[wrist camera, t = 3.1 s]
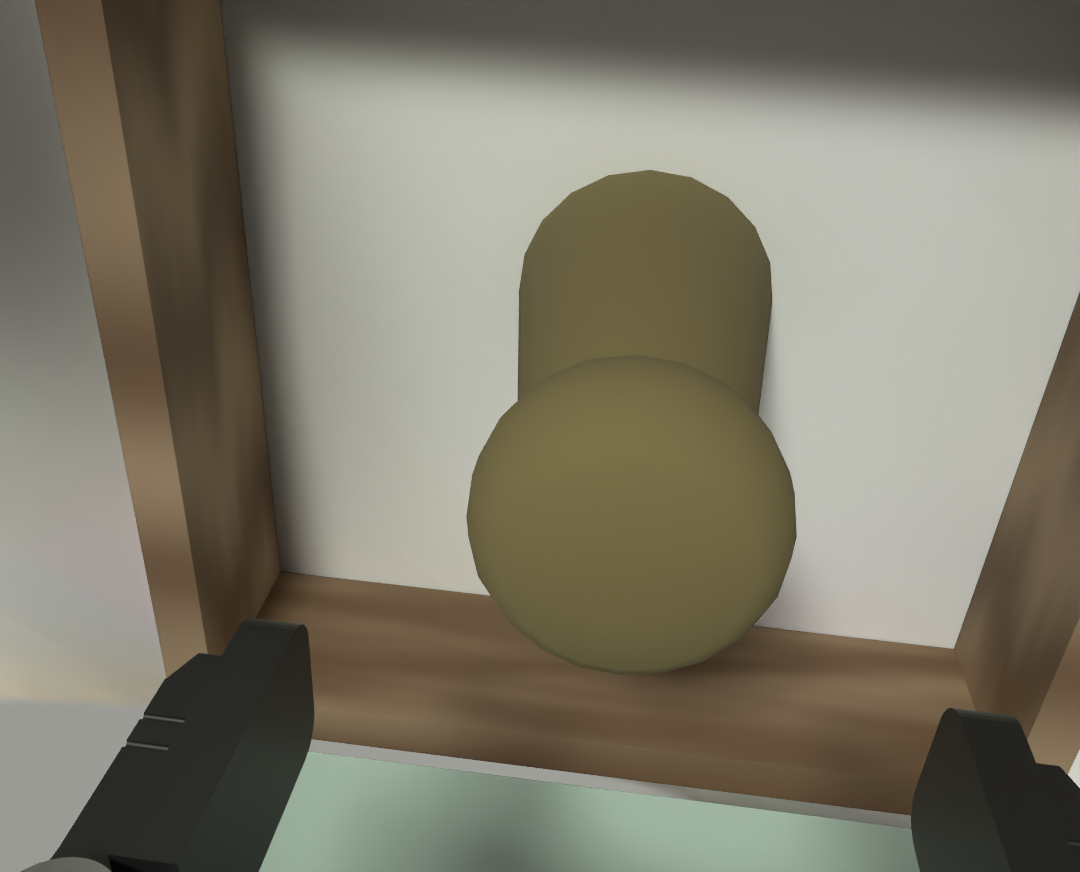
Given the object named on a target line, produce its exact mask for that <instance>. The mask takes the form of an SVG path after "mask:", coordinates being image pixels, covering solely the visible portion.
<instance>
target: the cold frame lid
mask: <svg viewBox="0 0 1080 872" xmlns="http://www.w3.org/2000/svg"><path fill="white" fill-rule="evenodd" d="M259 872H920V870H919V866H918V861H917V857H916V853H915V849H914V844H913V839H912V829H911V828H903V827H895V826H887V825H879V824H872V823H864V822H856V821H848V820H840V819H833V818H825V817H817V816H809V815H802V814H794V813H786V812H778V811H770V810H763V809H755V808H747V807H739V806H731V805H724V804H716V803H708V802H700V801H692V800H685V799H677V798H669V797H661V796H653V795H646V794H638V793H630V792H622V791H614V790H607V789H599V788H591V787H583V786H576V785H567V784H559V783H552V782H544V781H536V780H528V779H521V778H513V777H505V776H498V775H490V774H482V773H473V772H466V771H458V770H451V769H443V768H435V767H427V766H420V765H412V764H403V763H396V762H388V761H381V760H373V759H364V758H357V757H349V756H342V755H334V754H326V753H318V752H310V751H308V754H307V757H306V759H305V762H304V764H303V767H302V769H301V772H300V774H299V776H298V779H297V781H296V784H295V786H294V788H293V791H292V793H291V796H290V798H289V801H288V803H287V805H286V808H285V810H284V813H283V815H282V817H281V820H280V822H279V825H278V827H277V829H276V832H275V834H274V837H273V839H272V841H271V844H270V846H269V849H268V851H267V853H266V856H265V858H264V861H263V863H262V865H261V868H260V870H259Z"/></svg>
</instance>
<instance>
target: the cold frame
mask: <svg viewBox="0 0 1080 872" xmlns="http://www.w3.org/2000/svg"><path fill="white" fill-rule="evenodd" d="M35 3H36V9H37V14H38V19H39V24H40V29H41V34H42V39H43V45H44V50H45V55H46V60H47V65H48V70H49V75H50V81H51V86H52V91H53V96H54V101H55V106H56V111H57V117H58V122H59V127H60V132H61V137H62V142H63V147H64V152H65V158H66V163H67V168H68V173H69V178H70V183H71V188H72V194H73V199H74V204H75V209H76V214H77V219H78V224H79V230H80V235H81V240H82V245H83V250H84V255H85V260H86V266H87V271H88V276H89V281H90V286H91V291H92V296H93V302H94V307H95V312H96V317H97V322H98V327H99V332H100V337H101V343H102V348H103V353H104V358H105V363H106V368H107V373H108V379H109V384H110V389H111V394H112V399H113V404H114V409H115V415H116V420H117V425H118V430H119V435H120V440H121V445H122V451H123V456H124V461H125V466H126V471H127V476H128V481H129V487H130V492H131V497H132V502H133V507H134V512H135V517H136V522H137V528H138V533H139V538H140V543H141V548H142V553H143V558H144V564H145V569H146V574H147V579H148V584H149V589H150V594H151V600H152V605H153V610H154V615H155V620H156V625H157V630H158V636H159V641H160V646H161V651H162V656H163V661H164V666H165V672H166V677H169V676H170V675H171V674H173V673H174V672H175V671H176V670H178V669H179V668H180V667H181V666H183V665H184V664H185V663H186V662H188V661H189V660H190V659H192V658H193V657H194V656H195V655H197V654H198V653H204V654H211V655H219V656H222V655H223V653H224V651H225V649H226V648H227V646H228V644H229V643H230V641H231V639H232V637H233V636H234V634H235V632H236V630H237V629H238V627H239V625H240V624H241V623H242V621H243V620H245V619H246V618H256V619H264V620H272V621H280V622H288V623H296V624H303V625H305V626H306V628H307V631H308V636H309V647H310V660H311V672H312V684H313V697H314V726H313V733H312V738H311V739H315V740H323V741H332V742H339V743H347V744H355V745H362V746H370V747H379V748H386V749H394V750H402V751H410V752H418V753H425V754H433V755H441V756H449V757H457V758H465V759H473V760H480V761H488V762H496V763H504V764H512V765H520V766H527V767H535V768H543V769H551V770H559V771H567V772H574V773H582V774H590V775H598V776H606V777H614V778H622V779H629V780H637V781H645V782H653V783H661V784H669V785H677V786H684V787H692V788H700V789H708V790H716V791H724V792H731V793H739V794H747V795H755V796H763V797H771V798H779V799H786V800H794V801H802V802H810V803H818V804H826V805H834V806H841V807H849V808H857V809H865V810H873V811H881V812H889V813H896V814H904V815H911V811H912V802H913V796H914V792H915V789H916V786H917V783H918V780H919V777H920V775H921V772H922V769H923V766H924V764H925V761H926V758H927V755H928V752H929V750H930V747H931V744H932V741H933V738H934V736H935V733H936V730H937V727H938V725H939V722H940V719H941V717H942V715H943V713H944V712H945V711H946V709H948V708H956V709H964V710H972V711H980V712H988V713H996V714H1004V715H1012V716H1014V717H1015V718H1016V719H1017V720H1018V721H1019V723H1020V724H1021V726H1022V729H1023V731H1024V733H1025V736H1026V738H1027V741H1028V744H1029V746H1030V749H1031V751H1032V754H1033V756H1034V759H1035V761H1036V763H1040V764H1048V765H1055V766H1060V767H1061V768H1062V769H1063V770H1064V771H1065V773H1066V774H1067V775H1068V772H1069V770H1070V768H1071V766H1072V764H1073V762H1074V760H1075V758H1076V755H1077V753H1078V751H1079V749H1080V294H1079V297H1078V300H1077V303H1076V305H1075V308H1074V311H1073V314H1072V317H1071V320H1070V322H1069V325H1068V328H1067V331H1066V334H1065V337H1064V340H1063V342H1062V345H1061V348H1060V351H1059V354H1058V357H1057V359H1056V362H1055V365H1054V368H1053V371H1052V374H1051V376H1050V379H1049V382H1048V385H1047V388H1046V391H1045V393H1044V396H1043V399H1042V402H1041V405H1040V408H1039V410H1038V413H1037V416H1036V419H1035V422H1034V425H1033V427H1032V430H1031V433H1030V436H1029V439H1028V442H1027V444H1026V447H1025V450H1024V453H1023V456H1022V459H1021V461H1020V464H1019V467H1018V470H1017V473H1016V476H1015V478H1014V481H1013V484H1012V487H1011V490H1010V493H1009V495H1008V498H1007V501H1006V504H1005V507H1004V510H1003V512H1002V515H1001V518H1000V521H999V524H998V527H997V529H996V532H995V535H994V538H993V541H992V544H991V547H990V549H989V552H988V555H987V558H986V561H985V564H984V566H983V569H982V572H981V575H980V578H979V581H978V583H977V586H976V589H975V592H974V595H973V598H972V600H971V603H970V606H969V609H968V612H967V615H966V617H965V620H964V623H963V626H962V629H961V632H960V634H959V637H958V640H957V643H956V646H955V649H947V648H939V647H930V646H921V645H913V644H904V643H895V642H886V641H878V640H869V639H860V638H852V637H843V636H834V635H826V634H817V633H808V632H799V631H791V630H782V629H773V628H765V627H756V626H752V627H751V628H750V629H749V630H748V631H747V632H746V633H745V634H744V635H743V636H742V637H741V638H740V639H739V640H738V641H736V642H735V643H733V644H731V645H730V646H728V647H727V648H725V649H723V650H722V651H720V652H718V653H717V654H715V655H714V656H712V657H710V658H709V659H707V660H706V661H704V662H700V663H697V664H693V665H690V666H686V667H683V668H680V669H676V670H673V671H669V672H666V673H653V674H628V675H620V674H615V673H609V672H604V671H599V670H594V669H589V668H584V667H579V666H577V665H575V664H572V663H570V662H568V661H566V660H564V659H562V658H559V657H557V656H555V655H553V654H551V653H548V652H546V651H544V650H542V649H540V648H539V647H538V646H537V645H536V644H534V643H533V642H532V641H531V640H530V639H528V638H527V637H526V636H525V635H523V634H522V633H521V632H520V631H519V630H517V629H516V628H515V627H514V626H513V625H511V624H510V622H509V621H508V620H507V618H506V617H505V616H504V614H503V613H502V612H501V610H500V609H499V607H498V606H497V604H496V603H495V601H494V600H493V598H492V597H491V596H486V595H478V594H469V593H460V592H451V591H443V590H434V589H425V588H417V587H408V586H399V585H391V584H382V583H373V582H364V581H356V580H347V579H338V578H330V577H321V576H312V575H304V574H295V573H286V572H281V570H280V561H279V551H278V542H277V533H276V523H275V514H274V504H273V495H272V486H271V476H270V467H269V457H268V448H267V439H266V429H265V420H264V411H263V401H262V392H261V382H260V373H259V364H258V354H257V345H256V335H255V326H254V317H253V307H252V298H251V288H250V279H249V270H248V260H247V251H246V241H245V232H244V223H243V213H242V204H241V194H240V185H239V176H238V166H237V157H236V147H235V138H234V129H233V119H232V110H231V101H230V91H229V82H228V72H227V63H226V54H225V44H224V35H223V25H222V16H221V7H220V0H35Z"/></svg>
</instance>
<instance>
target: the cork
mask: <svg viewBox="0 0 1080 872" xmlns="http://www.w3.org/2000/svg"><path fill="white" fill-rule="evenodd" d="M771 306H772V289H771V270H770V261H769V259H768V257H767V254H766V252H765V249H764V247H763V245H762V242H761V240H760V238H759V235H758V233H757V230H756V228H755V226H754V225H753V224H752V223H751V222H750V221H749V220H748V219H747V218H746V217H745V216H744V214H743V213H742V212H741V211H740V210H739V209H738V208H737V207H736V206H735V205H734V203H733V202H732V201H731V200H730V199H729V198H728V197H726V196H724V195H723V194H721V193H719V192H717V191H715V190H713V189H712V188H710V187H708V186H706V185H704V184H702V183H701V182H699V181H697V180H695V179H693V178H691V177H685V176H680V175H675V174H669V173H664V172H658V171H653V170H647V171H639V172H631V173H624V174H616V175H609V176H606V177H604V178H602V179H600V180H598V181H596V182H594V183H592V184H590V185H587V186H585V187H583V188H581V189H579V190H577V191H575V192H573V193H571V194H570V195H569V196H568V197H567V198H566V199H565V200H564V201H562V202H561V203H560V204H559V205H558V206H557V207H556V208H555V209H554V210H553V211H552V212H551V213H550V214H549V215H548V216H547V217H546V218H545V219H544V220H543V221H542V222H541V224H540V226H539V228H538V230H537V232H536V234H535V236H534V238H533V239H532V241H531V243H530V245H529V247H528V249H527V251H526V253H525V256H524V262H523V269H522V276H521V282H520V289H519V346H518V401H517V402H516V403H515V404H514V405H513V406H512V407H511V408H510V409H509V410H508V411H507V412H506V413H505V414H504V415H503V416H502V417H501V418H500V420H499V421H498V423H497V425H496V427H495V428H494V430H493V432H492V434H491V435H490V437H489V439H488V441H487V443H486V444H485V446H484V448H483V450H482V451H481V453H480V455H479V457H478V460H477V463H476V466H475V469H474V472H473V474H472V481H471V488H470V495H469V503H468V510H467V526H468V536H469V541H470V545H471V549H472V553H473V557H474V561H475V565H476V569H477V574H478V577H479V578H480V580H481V581H482V583H483V584H484V586H485V588H486V589H487V591H488V592H489V594H490V595H491V597H492V598H493V600H494V601H495V603H496V604H497V606H498V607H499V609H500V610H501V612H502V613H503V614H504V616H505V617H506V618H507V620H508V621H509V622H510V624H511V625H513V626H514V627H515V628H516V629H517V630H519V631H520V632H521V633H522V634H523V635H525V636H526V637H527V638H528V639H530V640H531V641H532V642H533V643H534V644H536V645H537V646H538V647H539V648H540V649H542V650H544V651H546V652H548V653H551V654H553V655H555V656H557V657H559V658H562V659H564V660H566V661H568V662H570V663H572V664H575V665H577V666H579V667H584V668H589V669H594V670H599V671H604V672H609V673H615V674H620V675H628V674H653V673H666V672H669V671H673V670H676V669H680V668H683V667H686V666H690V665H693V664H697V663H700V662H704V661H706V660H707V659H709V658H710V657H712V656H714V655H715V654H717V653H718V652H720V651H722V650H723V649H725V648H727V647H728V646H730V645H731V644H733V643H735V642H736V641H738V640H739V639H740V638H741V637H742V636H743V635H744V634H745V633H746V632H747V631H748V630H749V629H750V628H751V627H752V626H753V625H754V624H755V623H756V621H757V620H758V619H759V618H760V617H761V616H762V614H763V613H764V612H765V611H766V610H767V608H768V607H769V606H770V605H771V604H772V603H773V601H774V600H775V599H776V598H777V597H778V594H779V591H780V588H781V586H782V583H783V580H784V577H785V574H786V572H787V569H788V566H789V563H790V560H791V558H792V553H793V549H794V545H795V541H796V515H795V493H794V489H793V484H792V480H791V475H790V472H789V469H788V467H787V465H786V463H785V461H784V458H783V456H782V454H781V452H780V450H779V448H778V445H777V443H776V441H775V439H774V437H773V434H772V432H771V431H770V429H769V428H768V427H767V426H766V424H765V423H764V422H763V421H762V419H761V418H760V417H759V416H758V413H759V405H760V396H761V388H762V380H763V372H764V363H765V355H766V347H767V339H768V330H769V322H770V314H771Z"/></svg>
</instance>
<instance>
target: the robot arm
mask: <svg viewBox="0 0 1080 872" xmlns="http://www.w3.org/2000/svg"><path fill="white" fill-rule="evenodd" d="M313 726H314V697H313V684H312V672H311V660H310V647H309V636H308V631H307V628H306V626H305V625H303V624H296V623H288V622H280V621H272V620H264V619H256V618H246V619H245V620H243V621H242V623H241V624H240V625H239V627H238V629H237V630H236V632H235V634H234V636H233V637H232V639H231V641H230V643H229V644H228V646H227V648H226V649H225V651H224V653H223V655H222V656H219V655H211V654H204V653H198V654H197V655H195V656H194V657H193V658H192V659H190V660H189V661H188V662H186V663H185V664H184V665H183V666H181V667H180V668H179V669H178V670H176V671H175V672H174V673H173V674H171V675H170V676H169V677H167V678H166V679H165V680H164V682H163V683H162V685H161V686H160V688H159V690H158V691H157V693H156V694H155V696H154V698H153V699H152V701H151V702H150V704H149V705H148V707H147V709H146V710H145V712H144V717H143V719H140V720H139V721H138V723H137V725H136V726H135V728H134V729H133V731H132V733H131V734H130V736H129V737H128V739H127V744H126V746H125V747H122V748H121V750H120V752H119V753H118V755H117V756H116V758H115V760H114V761H113V763H112V764H111V766H110V768H109V769H108V771H107V772H106V774H105V775H104V777H103V779H102V780H101V782H100V783H99V785H98V786H97V788H96V790H95V791H94V793H93V794H92V796H91V798H90V799H89V801H88V802H87V804H86V806H85V807H84V809H83V810H82V812H81V813H80V815H79V817H78V818H77V820H76V822H75V823H74V825H73V826H72V828H71V829H70V831H69V832H68V834H67V836H66V837H65V839H64V840H63V842H62V844H61V845H60V847H59V848H58V850H57V851H56V852H55V854H54V855H53V857H52V858H51V859H50V860H48V861H45V862H41V863H38V864H36V865H34V866H31V867H29V868H27V869H25V870H23V871H21V872H259V870H260V868H261V865H262V863H263V861H264V858H265V856H266V853H267V851H268V849H269V846H270V844H271V841H272V839H273V837H274V834H275V832H276V829H277V827H278V825H279V822H280V820H281V817H282V815H283V813H284V810H285V808H286V805H287V803H288V801H289V798H290V796H291V793H292V791H293V788H294V786H295V784H296V781H297V779H298V776H299V774H300V772H301V769H302V767H303V764H304V762H305V759H306V757H307V754H308V750H309V747H310V743H311V738H312V733H313ZM911 829H912V839H913V844H914V849H915V853H916V857H917V861H918V866H919V870H920V872H1080V788H1079V787H1078V786H1077V785H1076V784H1075V783H1074V782H1073V780H1072V779H1071V778H1070V777H1069V776H1068V775H1067V774H1066V773H1065V771H1064V770H1063V769H1062V768H1061V767H1060V766H1055V765H1048V764H1040V763H1036V761H1035V759H1034V756H1033V754H1032V751H1031V749H1030V746H1029V744H1028V741H1027V738H1026V736H1025V733H1024V731H1023V729H1022V726H1021V724H1020V723H1019V721H1018V720H1017V719H1016V718H1015V717H1014V716H1012V715H1004V714H996V713H988V712H980V711H972V710H964V709H956V708H948V709H946V711H945V712H944V713H943V715H942V717H941V719H940V722H939V725H938V727H937V730H936V733H935V736H934V738H933V741H932V744H931V747H930V750H929V752H928V755H927V758H926V761H925V764H924V766H923V769H922V772H921V775H920V777H919V780H918V783H917V786H916V789H915V792H914V796H913V802H912V811H911Z"/></svg>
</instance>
